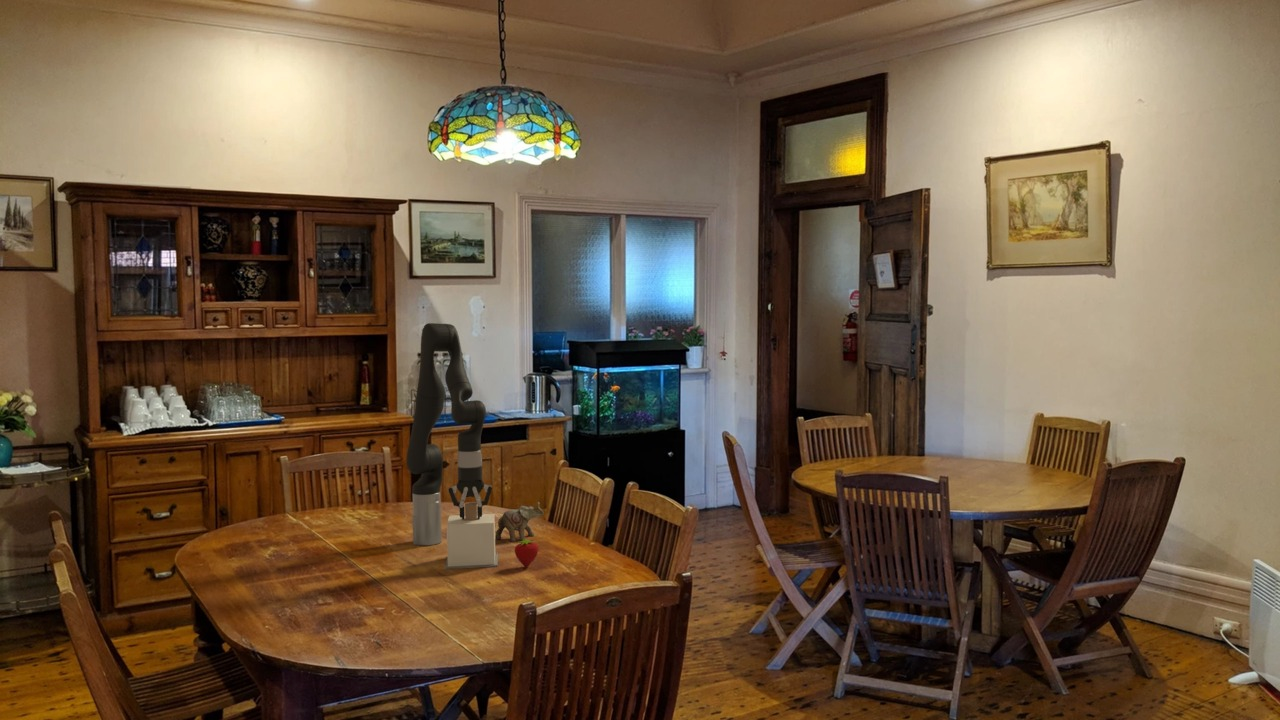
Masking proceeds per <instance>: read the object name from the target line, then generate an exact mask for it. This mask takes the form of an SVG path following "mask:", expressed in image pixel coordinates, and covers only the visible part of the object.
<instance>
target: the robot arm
mask: <svg viewBox="0 0 1280 720" xmlns="http://www.w3.org/2000/svg"><path fill="white" fill-rule="evenodd" d="M420 336H421V337H420V359H419V360H420V361H419V372H418V373H419V375H418V381H417V389H416V395H415V401H414V402H415V404H414V405H415V406H414V414H413V415H414V416H413V421H412V428H411V434H410V438H409V443H408V446H407V451H406V459H405V460H406V466H407V469H408V471H409V472H410V473H411V474H413V475H421V477H419V479H418V480H417V481H415V482H414V483H413V484H412V487H411V489H412V518H411V521H412V522H411V523H412V545H413V546H416V545H417V546H433V545H438V544H440V543H442V537H443V536H442V510H441V509H442V508H441V507H442V506H441V505H442V504H441V503H442V502H441V500H442V499H441V486H442V485H443V484H442V483H443V470H444V469H443V467H444V466H443V465H444V463H443V462H444V460H443V453H442V450H441V448H440V447H439V446H438V445H437V444H434V443H431V444H430V443H429V444H428V442H429V438H430V434H431V432H432V430H433V428H434V427H435V425H436V423H437V422H438V420H439V419H440V417H441V415H442V413H443V410H444V404H445V398H446V397H445V396H446V390H445V386H447V390H448V392H449V396H450V403H451V410H450V411H451V413H450V415H451V418H452V420H453V421H454V423H456V424H457V425H466V424H467V425H469V424H471V425H470V427H469V428H468V429H466V430H464V431H460V432H459V433H458V435H457V451H458V452H457V483H456V485H453V486H449V487H448V493H449V496H450V498H451V501H452V504H453V506H454V507H458V508H459V515H460V518H462V519H464V518H465V503H466V502H465V501H466V498H470V497H471V498H475V502H477V515H478V519H480V517H482V514H483V506H486V505H488V504H489V500H490V497H491V494H492V490H493V486H492V484H489V485H488V484H485V482H484V480H483V457H482V456H483V455H482V448H481V447H482V443H481V441H482V440H481V439H482V438H481V437H482V432H483V427H484V423H485V420H486V415H487V410H486V406H485V404H484V403H483V401H481V400H476V399H475V400H470V398H471V397H472V396H473V394H474V392H473V388H472V385H471V382H470V380H469V378H468V375H467V371H466V369H465V363H464V358H463V352H462V346H461V342H460V341H461V340H460V337H459V333H458V331H457V328H456V327H455V326H454V325H453V324H451V323H439V322H438V323H437V322H436V323H433V322H429V323H426V324H425V325H424V326H423V328H422V331H421V335H420ZM435 352H436V353H437V352H447V353H448V355H449V356H450V358H449V359H450V360H449V363H448V366H447V368H446V371H445V375H444V377H445V384H446V385H445V386H444V384H443V382H442V380H441V378H440V375H439V374H438V371H437V369H436V366H435V359H434V358H435ZM483 489H484V492H485V497H484V499H483V500H482V499H481V495H480V493H481V492H482V490H483ZM457 490H458V492H459V493H460V494H461V498H460V501H458V499H457V496H456V493H457Z"/></svg>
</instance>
